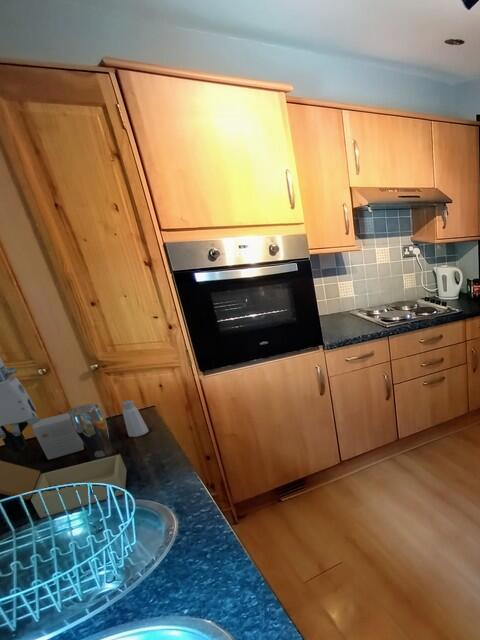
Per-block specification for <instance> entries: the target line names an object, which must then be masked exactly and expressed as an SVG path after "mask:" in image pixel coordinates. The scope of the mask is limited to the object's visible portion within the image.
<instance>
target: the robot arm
mask: <svg viewBox="0 0 480 640" xmlns="http://www.w3.org/2000/svg"><path fill="white" fill-rule="evenodd" d="M16 374H18V370H17V369H16V367H8V366H7V365H6V364H5V363H4V361H3V360H2V357H1V356H0V440H2V442H3V443H4V446H5V447H6V449H7V450H10V451H11V453H12V454H15V453H18V452H19V453H21V452H23V451H24V450H25V447H26V446H27V445H28V441H27V440H26V437H25V436H24V434H23V431H24V430H25V429H26V428H27V427H28V426H32V424H34V423H37V422H39V420H41V418H40V416H39V415H38V414H37V413H36V412H37V407H36V406H35V404H34V402H33V400H32V398H31V396H30V395H29V394H28V392H27V390H26V389H25V387H24V386H23V384H22V383H21V382H20V380H19V379H18V378H17V376H13V375H16ZM6 426H10V428H11V431H10V430H9V429H8V428H7V427H6Z"/></svg>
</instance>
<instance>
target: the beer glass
mask: <svg viewBox="0 0 480 640" xmlns="http://www.w3.org/2000/svg"><path fill="white" fill-rule="evenodd" d="M67 413H68V415H69V418H70V421H71V424H72V427H73V429H74V431H75V432H76V434H77V435H78V436H79V438H80V439H81V440H82V442H83V445H84V446H85V448H86V450H87V455H88V459H89V460H90V461H95V460H99V459H103V458H107V457H111V456H115V455H116V454H117V452H118V451H117V449H116V447H115V446H114V445H113V443H112V442H111V438H110V432H109V426H108V422H107V418H106V417H105V414H104V412H103V411H102V409H101V407H100V404H97V403H88V404H82V405H79V406H75V407H73V408H70V409H69V410H68V411H67Z"/></svg>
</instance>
